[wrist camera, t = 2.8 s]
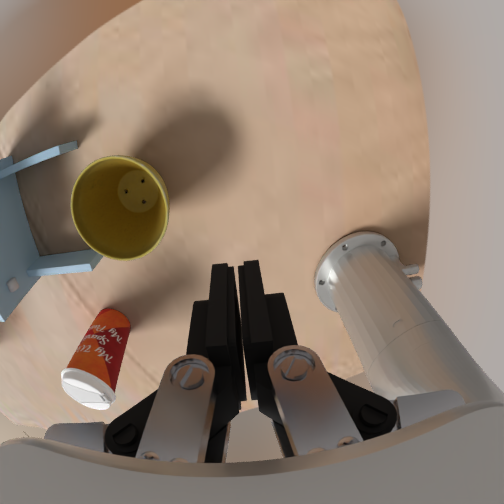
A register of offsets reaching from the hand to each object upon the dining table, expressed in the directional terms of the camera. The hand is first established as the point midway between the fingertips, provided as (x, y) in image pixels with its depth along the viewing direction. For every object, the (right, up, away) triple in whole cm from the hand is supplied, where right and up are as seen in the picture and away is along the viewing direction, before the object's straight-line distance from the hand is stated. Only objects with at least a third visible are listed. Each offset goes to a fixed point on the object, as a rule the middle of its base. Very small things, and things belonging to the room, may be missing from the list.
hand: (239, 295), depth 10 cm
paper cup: (-21, -9, +27) cm, 35 cm away
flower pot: (-12, +9, +18) cm, 24 cm away
